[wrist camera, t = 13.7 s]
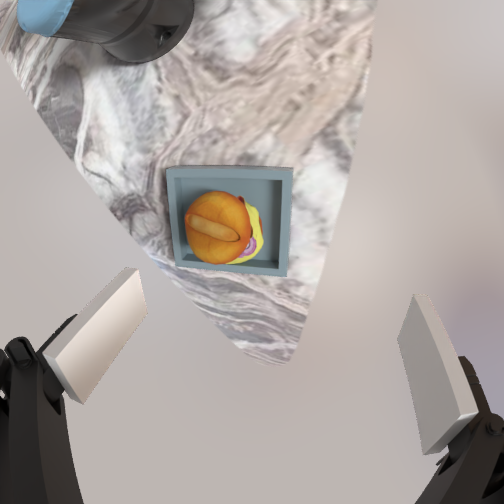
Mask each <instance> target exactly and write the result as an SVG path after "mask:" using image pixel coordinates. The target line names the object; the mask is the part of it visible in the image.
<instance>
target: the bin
mask: <svg viewBox="0 0 504 504" xmlns="http://www.w3.org/2000/svg"><path fill="white" fill-rule="evenodd" d="M166 178H167V191H168V202H169V213H170V223H171V232H172V241H173V250H174V258H175V265H176V266H178V267H187V268H197V269H206V270H216V271H226V272H236V273H247V274H257V275H268V276H279V277H287V270H288V259H289V243H290V226H291V208H292V187H293V168H288V167H268V166H237V165H185V166H173V167H171V168H168V169H166ZM212 191H225V192H228V193H230V194H232V195H234V196H236V197H238V196H239V195H240V196H242V197H243V198H244V199H245V201H246V202H247V203H249V204H250V205H252V206H253V207H255V208H256V209H257V211H258V212H259V217H260V218H261V220H262V229H263V235H262V237H263V240H264V241H263V246H262V248H261V249H260V251H259V252H258V253H257V254H256V255H255V256H254V257H253V258H251V259H249V260H247V261H245V262H242V263H235V264H218V265H214V264H210V263H206V262H204V261H202V260H201V259H199V258H198V257H196V255H195V254H193V251H192V250H191V248H190V245H189V243H188V239H187V234H186V228H185V215H186V213H187V210H188V209H189V207H190V205H191V204H192V203H193V202H194V201H195V200H196V199H198V198H199V197H200V196H201V195H203V194H205V193H207V192H212Z"/></svg>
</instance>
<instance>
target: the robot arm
mask: <svg viewBox="0 0 504 504" xmlns="http://www.w3.org/2000/svg"><path fill="white" fill-rule="evenodd" d="M193 14H194V3H193V0H18V4H17V20H18V23H19V25H20V27H21V28H22V29H23V30H24V31H26V32H29V33H34V34H40V35H42V36H45V37H56V38H65V39H73V40H80V41H86V42H92V43H97V44H99V45H101V46H102V47H103V48H104V49H106V51H107V52H108V53H109V54H110V55H111V56H113V57H115V58H116V59H119V60H122V61H127V62H131V63H143V62H148V61H151V60H154V59H156V58H158V57H160V56H162V55H164V54H165V53H167V52H168V51H170V50H171V49H172V48H173V47H174V46H175V45H177V44H178V42H179V41H180V40H181V39H182V38H183V36H184V35H185V34H186V32H187V30H188V28H189V26H190V24H191V22H192V18H193ZM147 314H148V311H147V307H146V303H145V298H144V294H143V290H142V285H141V280H140V276H139V270H138V269H135V268H127V267H126V268H125V269H124V270H123V271H121V272H120V273H119V274H118V275H117V276H116V277H115V278H114V279H113V280H112V281H111V282H110V283H109V284H108V285H107V286H106V287H105V288H104V289H103V290H102V291H101V292H100V293H99V294H98V295H97V296H96V297H95V298H94V299H93V300H92V301H91V302H90V303H89V304H88V305H87V306H86V307H85V308H84V309H83V310H82V311H81V312H80V313H79V314H75V315H73V316H72V317H70V318H68V319H67V320H66V321H65V322H64V323H63V324H62V325H61V326H60V328H58V329H57V330H56V331H55V334H54V333H53V334H52V336H51V337H50V338H49V339H48V340H47V341H46V342H45V343H44V344H43V345H42V346H41V347H40V349H39V350H38V351H37V352H36V353H35V351H34V349H33V347H32V345H31V344H30V342H29V340H28V339H27V338H26V337H17V338H14V339H13V340H11V341H10V342H9V343H8V344H7V345H6V347H5V349H4V351H5V352H6V354H7V356H8V357H9V358H8V357H7V356H6V354H5V352H4V351H3V350H2V349H0V390H2V391H3V393H4V394H5V397H4V398H2V397H1V396H0V504H84V503H83V499H82V496H81V493H80V489H79V485H78V481H77V477H76V472H75V468H74V464H73V458H72V453H71V448H70V442H69V436H68V429H67V422H66V414H65V404H64V398H63V396H62V393H63V392H64V390H65V391H66V393H67V394H68V395H69V397H70V398H71V399H73V400H75V401H77V402H79V403H81V404H84V403H85V401H86V400H87V398H88V397H89V395H90V394H91V393H92V391H93V390H94V388H95V386H96V385H97V384H98V382H99V381H100V379H101V378H102V376H103V375H104V373H105V372H106V370H107V369H108V368H109V366H110V365H111V363H112V362H113V361H114V359H115V358H116V356H117V355H118V353H119V352H120V351H121V349H122V348H123V347H124V345H125V344H126V342H127V341H128V340H129V338H130V337H131V336H132V334H133V333H134V331H135V330H136V329H137V327H138V326H139V324H140V323H141V322H142V321H143V319H144V318H145V316H146V315H147ZM397 341H398V344H399V348H400V351H401V355H402V358H403V362H404V366H405V370H406V373H407V377H408V381H409V385H410V389H411V394H412V399H413V403H414V408H415V413H416V417H417V422H418V428H419V434H420V440H421V446H422V452H423V455H428V454H434V453H439V452H441V451H442V450H443V449H444V448H445V447H446V446H447V445H448V449H449V452H448V453H447V454H446V455H445V456H444V457H443V458H442V459H441V460H439V461H438V463H437V464H436V465H437V466H438V465H439V464H440V463H441V462H442V463H441V465H440V466H439V468H438V469H437V471H436V473H435V474H434V476H433V478H432V479H431V481H430V482H429V484H428V485H427V487H426V488H425V490H424V491H423V493H422V494H421V496H420V497H419V498H418V500H417V501H416V503H415V504H504V420H503V418H501V417H500V416H499V415H497V414H493V413H491V411H490V408H489V405H488V403H487V400H486V397H485V395H484V392H483V389H482V387H481V384H479V380H478V377H477V376H476V372H475V370H474V368H473V366H472V364H471V363H470V362H469V361H468V360H467V359H466V357H465V356H460V357H457V355H456V352H455V350H454V348H453V345H452V343H451V341H450V339H449V337H448V335H447V332H446V330H445V329H444V326H443V324H442V322H441V320H440V318H439V316H438V314H437V312H436V310H435V308H434V307H433V305H432V303H431V301H430V299H429V297H428V295H419V294H413V297H412V300H411V303H410V306H409V309H408V312H407V315H406V318H405V320H404V323H403V326H402V328H401V331H400V334H399V336H398V338H397Z"/></svg>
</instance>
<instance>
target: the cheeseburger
mask: <svg viewBox="0 0 504 504" xmlns="http://www.w3.org/2000/svg"><path fill="white" fill-rule="evenodd" d="M185 228H186V234H187V239H188V243H189V245H190V248H191V250H192V251H193V254H195V255H196V257H198V258H199V259H201V260H202V261H204V262H206V263H210V264H214V265H218V264H235V263H242V262H245V261H247V260H249V259H251V258H253V257H254V256H255V255H256V254H257V253H258V252H259V251H260V249H261V248H262V246H263V241H264V240H263V237H262V235H263V229H262V220H261V218H260V217H259V212H258V211H257V209H256V208H255V207H253V206H252V205H250V204H249V203H247V202H246V201H245V199H244V198H243V197H242V196H240V195H239V196H238V197H236V196H234V195H232V194H230V193H228V192H225V191H212V192H207V193H205V194H203V195H201V196H200V197H199V198H198V199H196V200H195V201H194V202H193V203H192V204H191V205H190V207H189V209H188V210H187V213H186V215H185Z"/></svg>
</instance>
